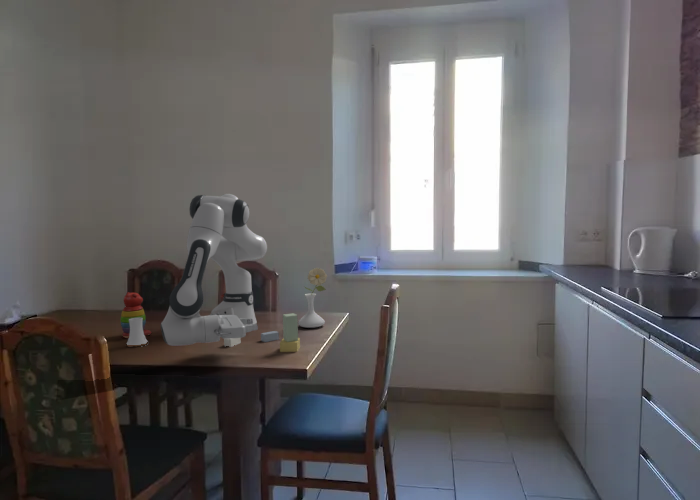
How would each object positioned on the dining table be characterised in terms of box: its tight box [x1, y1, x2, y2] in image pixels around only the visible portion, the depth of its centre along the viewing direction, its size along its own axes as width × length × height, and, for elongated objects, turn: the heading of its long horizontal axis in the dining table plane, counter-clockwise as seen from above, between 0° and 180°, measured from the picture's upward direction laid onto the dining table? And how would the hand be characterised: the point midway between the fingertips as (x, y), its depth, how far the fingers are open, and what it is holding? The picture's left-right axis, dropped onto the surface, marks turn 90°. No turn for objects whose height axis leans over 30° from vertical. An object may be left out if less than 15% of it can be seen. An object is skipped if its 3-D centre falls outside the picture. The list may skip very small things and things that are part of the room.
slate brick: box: [260, 330, 280, 343], centre depth 186 cm, size 6×3×3 cm, turn 126°
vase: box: [125, 318, 149, 345], centre depth 184 cm, size 8×8×10 cm
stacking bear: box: [120, 291, 152, 336], centre depth 199 cm, size 11×10×18 cm
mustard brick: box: [279, 337, 301, 353], centre depth 173 cm, size 6×6×4 cm
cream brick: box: [223, 338, 242, 348], centre depth 181 cm, size 6×3×3 cm, turn 158°
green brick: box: [282, 313, 299, 342], centre depth 172 cm, size 4×4×9 cm
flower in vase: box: [298, 267, 328, 329], centre depth 206 cm, size 13×11×25 cm
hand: (254, 323), depth 168 cm, fingers open, 8 cm apart
